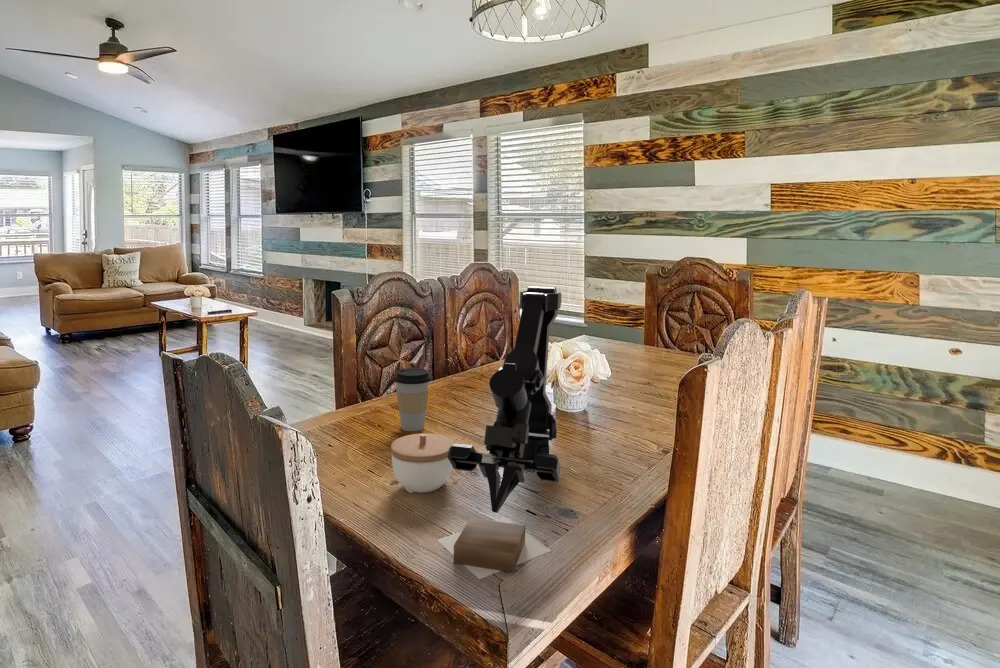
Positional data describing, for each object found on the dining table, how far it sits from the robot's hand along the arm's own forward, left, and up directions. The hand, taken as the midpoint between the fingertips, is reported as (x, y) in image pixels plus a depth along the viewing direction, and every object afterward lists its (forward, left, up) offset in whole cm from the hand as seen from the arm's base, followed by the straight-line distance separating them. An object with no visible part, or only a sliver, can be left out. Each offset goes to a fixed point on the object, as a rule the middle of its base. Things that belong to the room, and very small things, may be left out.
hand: (494, 511), depth 95 cm
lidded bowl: (-27, +1, -7) cm, 28 cm away
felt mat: (0, 0, -7) cm, 7 cm away
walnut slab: (-2, +2, -4) cm, 5 cm away
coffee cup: (-59, +15, -7) cm, 61 cm away
